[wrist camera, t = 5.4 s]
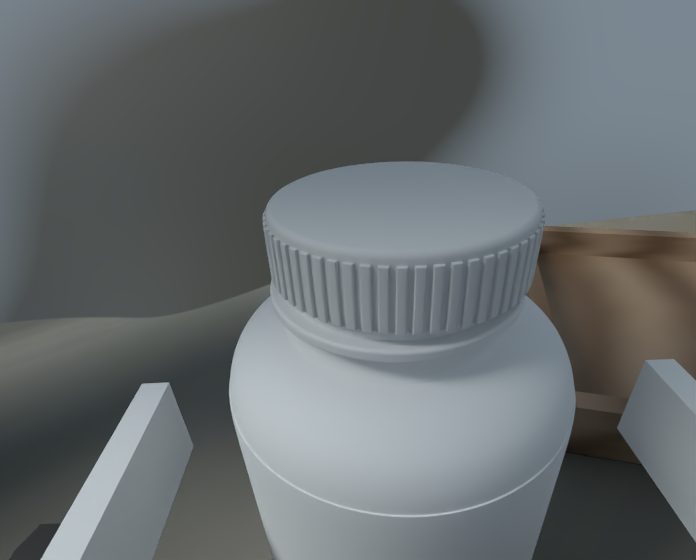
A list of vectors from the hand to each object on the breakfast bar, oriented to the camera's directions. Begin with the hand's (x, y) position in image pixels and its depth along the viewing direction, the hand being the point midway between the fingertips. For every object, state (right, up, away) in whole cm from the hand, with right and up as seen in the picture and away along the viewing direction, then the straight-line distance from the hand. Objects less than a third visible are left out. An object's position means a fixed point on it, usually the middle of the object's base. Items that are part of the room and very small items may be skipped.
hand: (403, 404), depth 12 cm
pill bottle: (0, -8, +4) cm, 9 cm away
